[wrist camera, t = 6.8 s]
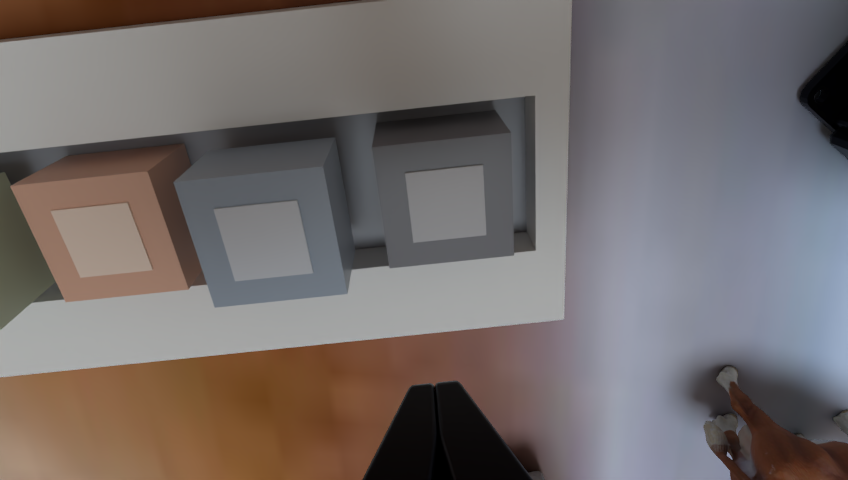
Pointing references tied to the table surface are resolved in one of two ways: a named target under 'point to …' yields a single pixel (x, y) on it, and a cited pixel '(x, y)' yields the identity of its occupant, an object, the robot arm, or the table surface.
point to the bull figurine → (771, 443)
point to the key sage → (18, 258)
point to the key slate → (269, 221)
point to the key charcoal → (445, 188)
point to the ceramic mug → (536, 475)
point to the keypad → (287, 122)
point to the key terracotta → (112, 222)
